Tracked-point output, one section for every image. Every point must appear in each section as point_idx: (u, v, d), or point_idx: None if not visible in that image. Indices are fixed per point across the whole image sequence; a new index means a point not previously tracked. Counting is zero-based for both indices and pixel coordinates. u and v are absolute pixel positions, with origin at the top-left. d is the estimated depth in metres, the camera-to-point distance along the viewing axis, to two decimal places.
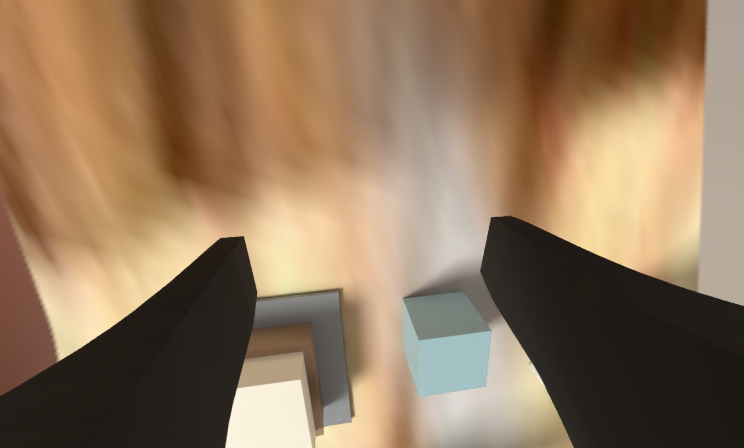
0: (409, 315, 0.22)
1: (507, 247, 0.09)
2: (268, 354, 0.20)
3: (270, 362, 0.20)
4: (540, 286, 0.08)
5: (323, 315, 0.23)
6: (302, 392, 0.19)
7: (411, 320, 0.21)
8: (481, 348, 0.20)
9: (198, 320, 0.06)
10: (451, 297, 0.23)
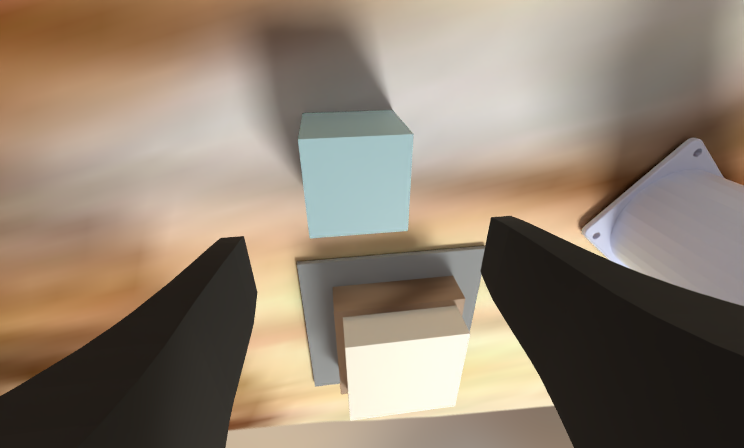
0: None
1: (507, 247, 0.09)
2: (342, 341, 0.21)
3: None
4: (540, 286, 0.08)
5: (325, 276, 0.21)
6: (364, 344, 0.18)
7: None
8: (332, 151, 0.13)
9: (198, 320, 0.06)
10: None
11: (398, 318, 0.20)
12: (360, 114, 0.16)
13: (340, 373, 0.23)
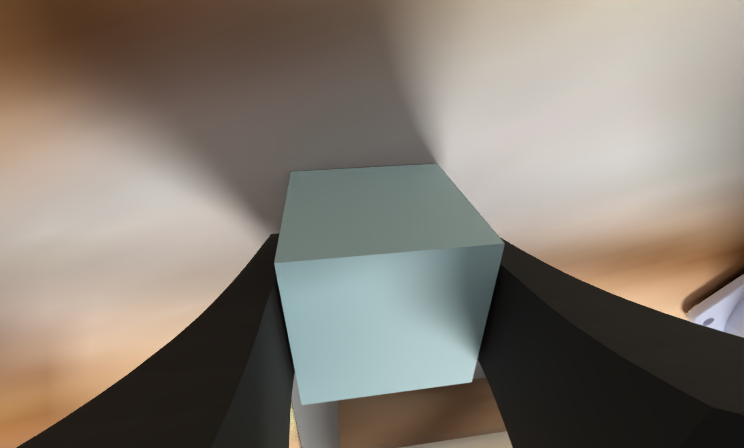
0: None
1: None
2: None
3: None
4: None
5: None
6: None
7: None
8: (344, 279, 0.06)
9: (271, 313, 0.06)
10: None
11: None
12: (387, 176, 0.09)
13: None
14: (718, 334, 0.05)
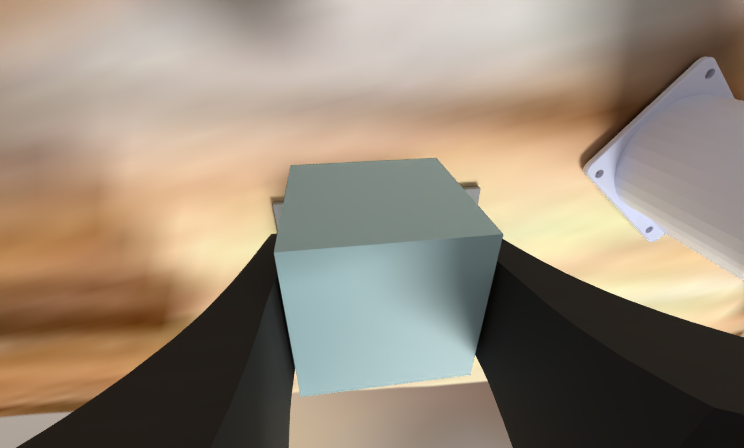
0: None
1: None
2: None
3: None
4: None
5: None
6: None
7: None
8: (343, 269, 0.07)
9: (271, 313, 0.06)
10: None
11: None
12: (387, 170, 0.09)
13: None
14: (718, 334, 0.05)
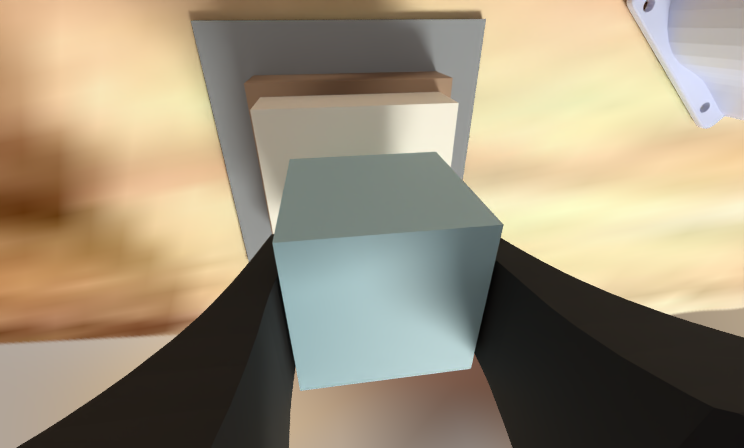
0: None
1: None
2: None
3: None
4: None
5: (239, 52, 0.14)
6: (283, 109, 0.11)
7: None
8: (342, 260, 0.06)
9: (271, 313, 0.06)
10: None
11: (346, 96, 0.13)
12: (386, 163, 0.09)
13: None
14: (718, 334, 0.05)
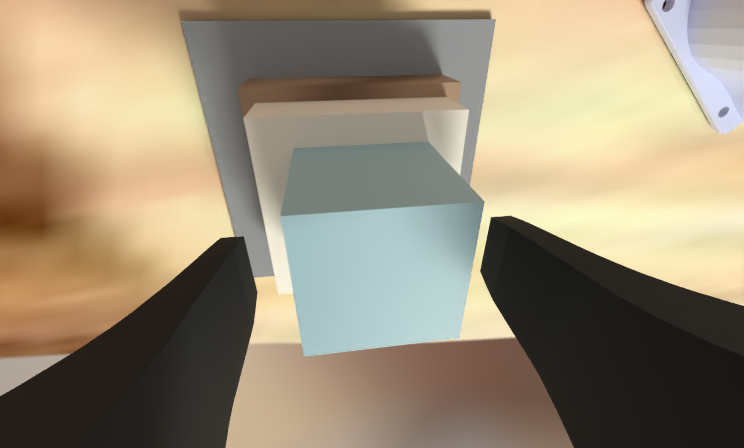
0: None
1: (507, 247, 0.09)
2: None
3: None
4: (540, 286, 0.08)
5: (233, 54, 0.13)
6: (279, 116, 0.10)
7: None
8: (341, 233, 0.07)
9: (197, 321, 0.06)
10: None
11: (348, 102, 0.12)
12: (382, 152, 0.10)
13: None
14: None
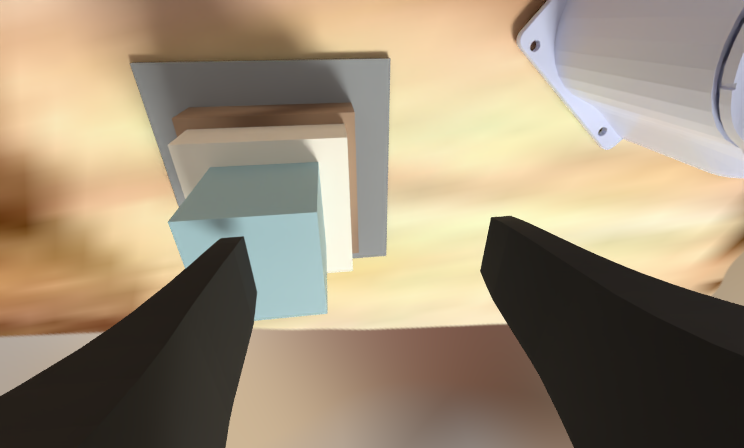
0: None
1: (507, 247, 0.09)
2: None
3: None
4: (540, 286, 0.08)
5: (174, 88, 0.16)
6: (196, 143, 0.13)
7: None
8: (215, 233, 0.10)
9: (198, 320, 0.06)
10: None
11: (259, 129, 0.15)
12: (275, 171, 0.13)
13: None
14: None
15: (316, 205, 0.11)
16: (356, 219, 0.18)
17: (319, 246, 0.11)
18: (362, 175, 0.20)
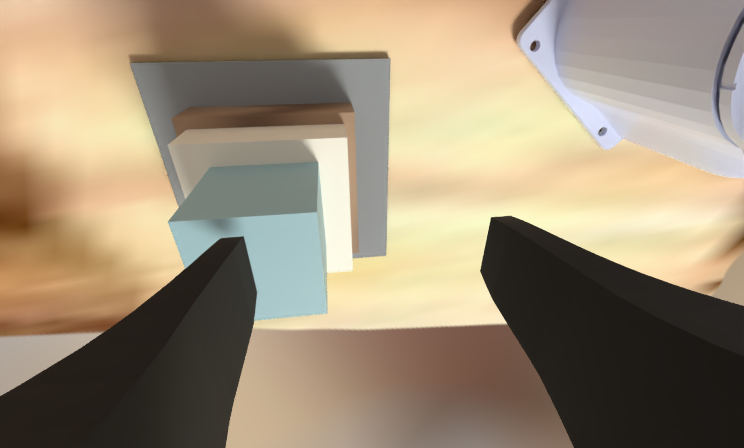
0: None
1: (507, 247, 0.09)
2: None
3: None
4: (540, 286, 0.08)
5: (174, 88, 0.16)
6: (196, 143, 0.13)
7: None
8: (215, 233, 0.10)
9: (198, 320, 0.06)
10: None
11: (259, 129, 0.15)
12: (275, 171, 0.13)
13: None
14: None
15: (316, 205, 0.11)
16: (356, 219, 0.18)
17: (319, 246, 0.11)
18: (362, 175, 0.20)
